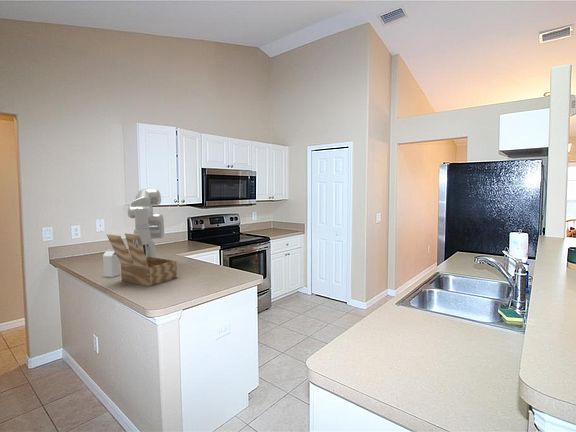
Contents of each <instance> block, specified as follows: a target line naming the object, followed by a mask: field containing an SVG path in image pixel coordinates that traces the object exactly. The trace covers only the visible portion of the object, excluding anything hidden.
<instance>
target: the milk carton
mask: <svg viewBox="0 0 576 432" xmlns="http://www.w3.org/2000/svg"><path fill="white" fill-rule="evenodd" d="M102 265H103V268H102V269H103V277H105V278H106V277H107V278H114V277H117V276H120V275H121V273H120V272H121V271H120V270H121V267H120V261H119V259H118V257H117V255H116V253H115V251H114V249H113V248H112V249H108V248H107V249H105V252H104V254H103V255H102Z"/></svg>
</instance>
